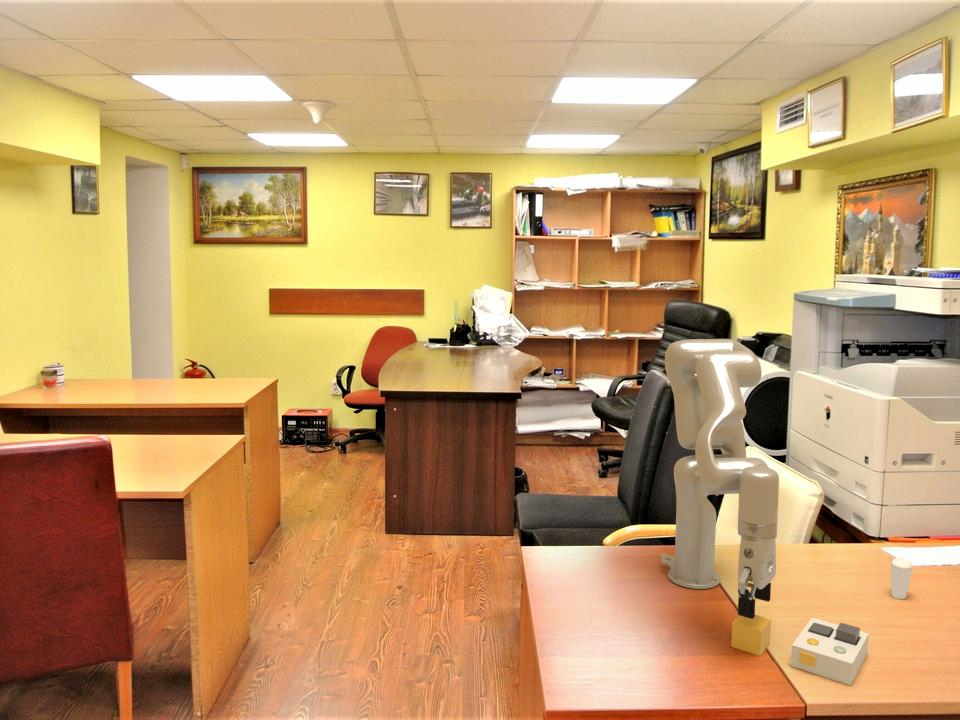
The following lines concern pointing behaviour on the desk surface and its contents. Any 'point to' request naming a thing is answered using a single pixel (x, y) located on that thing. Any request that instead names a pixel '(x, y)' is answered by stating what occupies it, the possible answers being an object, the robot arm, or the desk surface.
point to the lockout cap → (751, 634)
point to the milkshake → (900, 577)
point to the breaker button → (847, 634)
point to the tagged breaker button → (821, 630)
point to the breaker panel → (828, 654)
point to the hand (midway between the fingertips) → (754, 607)
